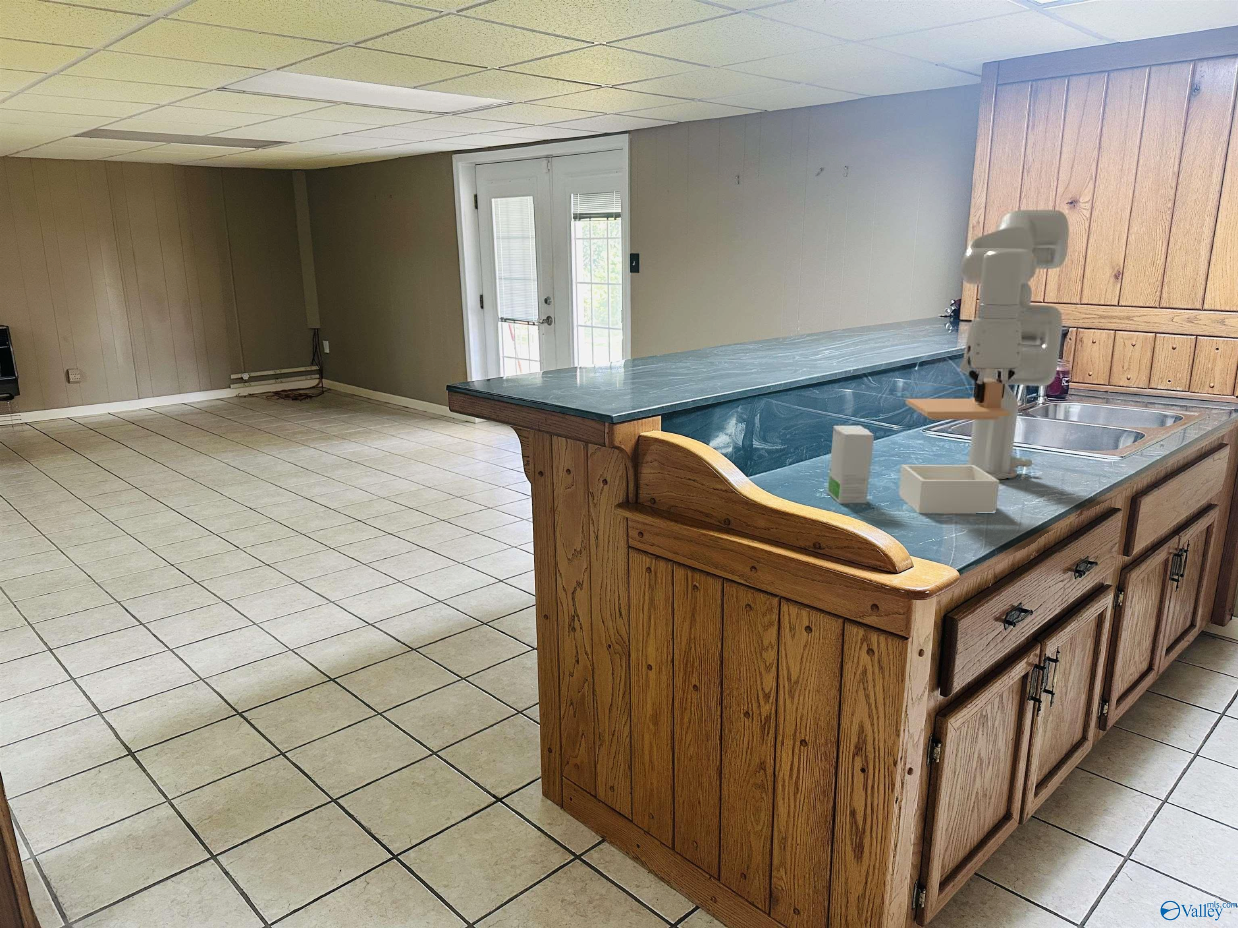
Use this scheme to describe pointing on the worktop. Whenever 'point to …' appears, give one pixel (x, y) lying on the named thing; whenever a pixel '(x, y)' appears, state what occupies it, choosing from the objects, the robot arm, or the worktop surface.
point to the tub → (948, 488)
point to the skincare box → (850, 464)
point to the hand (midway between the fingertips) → (987, 401)
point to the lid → (964, 406)
